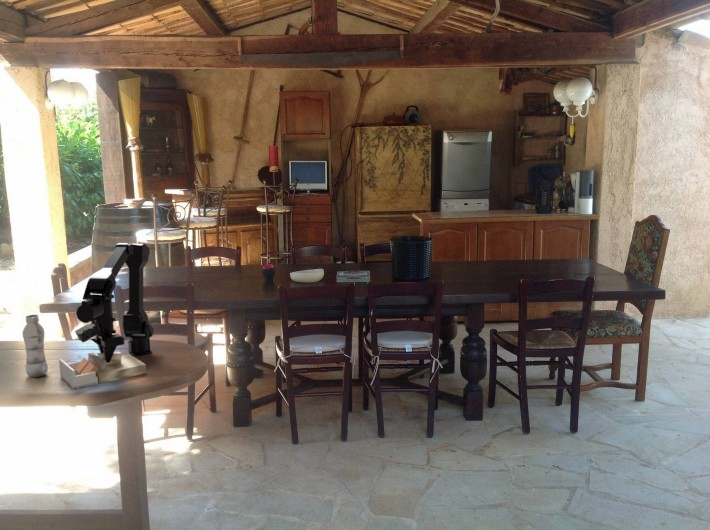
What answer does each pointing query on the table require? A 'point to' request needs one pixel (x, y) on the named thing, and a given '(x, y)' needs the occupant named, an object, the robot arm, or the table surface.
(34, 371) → the plastic bottle
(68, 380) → the box
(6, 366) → the table surface
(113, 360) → the scraper
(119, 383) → the table surface
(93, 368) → the tile
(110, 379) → the board
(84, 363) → the tile
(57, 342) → the table surface
